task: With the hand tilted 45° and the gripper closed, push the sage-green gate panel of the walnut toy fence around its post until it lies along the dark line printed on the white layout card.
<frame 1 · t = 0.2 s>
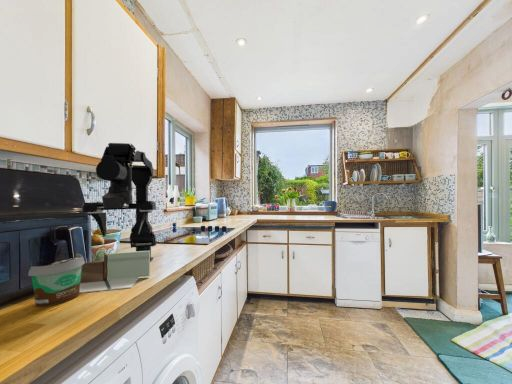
hand: (121, 235, 70), 15 cm above the countertop, tool pointing down, fingers open, 9 cm apart
fixed fence: (105, 281, 73), resting on layout card
layout card: (106, 282, 72), on the countertop
gate panel: (129, 264, 74), point 5 cm above the countertop, hinge at 0.0°
food container: (65, 299, 60), on the countertop, touching layout card
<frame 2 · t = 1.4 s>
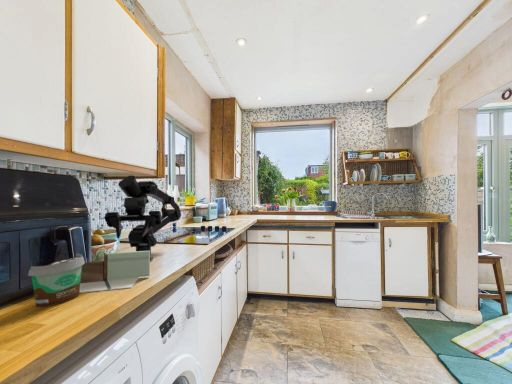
hand: (130, 236, 82), 12 cm above the countertop, tool tilted 45°, fingers open, 8 cm apart
nothing on the countertop moved.
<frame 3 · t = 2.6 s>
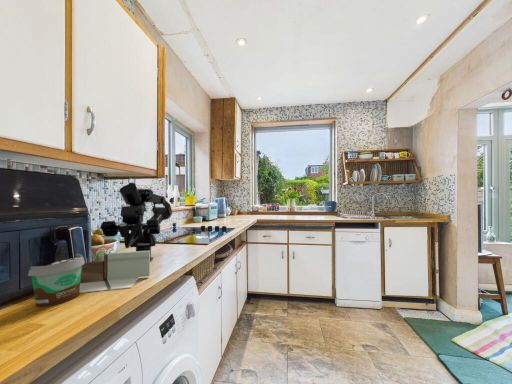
hand: (126, 247, 78), 9 cm above the countertop, tool tilted 45°, fingers closed
nothing on the countertop moved.
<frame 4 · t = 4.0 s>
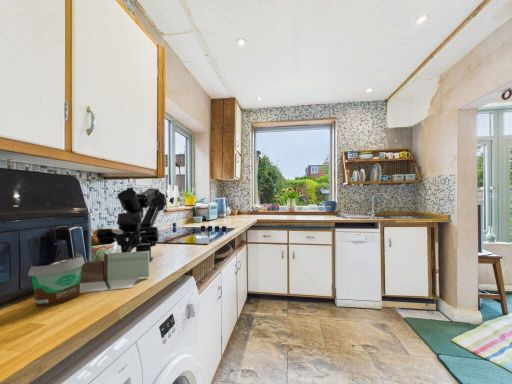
hand: (123, 256, 75), 7 cm above the countertop, tool tilted 45°, fingers closed, pressing on gate panel
gate panel: (129, 265, 74), point 5 cm above the countertop, hinge at -3.4°, touching gripper
everything else where it was.
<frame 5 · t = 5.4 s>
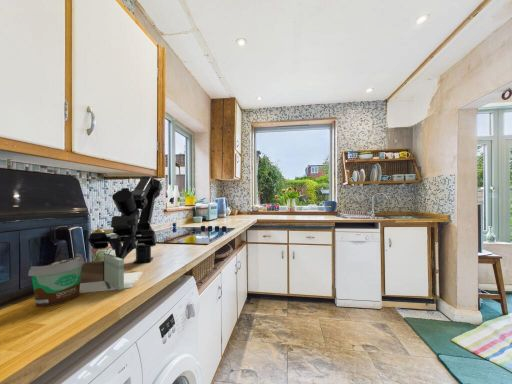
hand: (118, 262, 69), 7 cm above the countertop, tool tilted 45°, fingers closed
gate panel: (113, 270, 68), point 5 cm above the countertop, hinge at -54.0°, touching gripper
everything else where it was.
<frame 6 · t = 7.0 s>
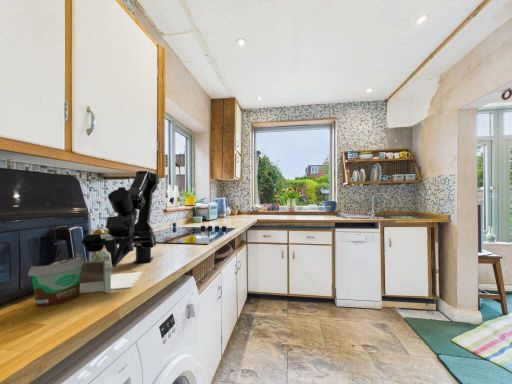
hand: (113, 266, 65), 7 cm above the countertop, tool tilted 45°, fingers closed
gate panel: (106, 271, 67), point 5 cm above the countertop, hinge at -68.3°, touching gripper
everything else where it was.
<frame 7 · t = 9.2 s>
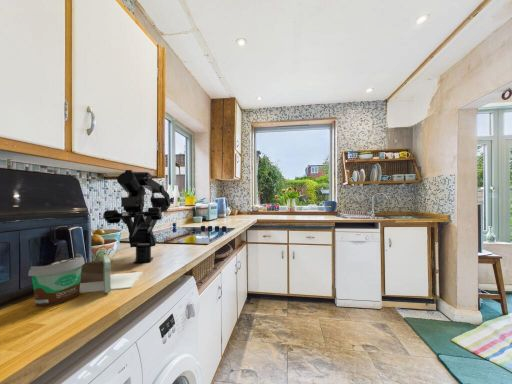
hand: (131, 236, 82), 13 cm above the countertop, tool tilted 30°, fingers closed
gate panel: (106, 271, 67), point 5 cm above the countertop, hinge at -68.6°
everything else where it was.
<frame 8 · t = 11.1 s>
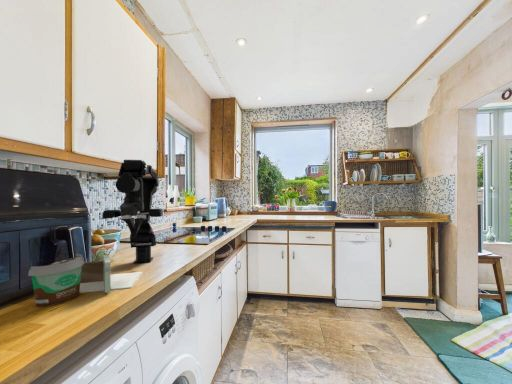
hand: (134, 237, 83), 12 cm above the countertop, tool pointing down, fingers closed
nothing on the countertop moved.
at the end: gate panel at -69° (first picture: +0°); food container moved 0.1 cm from its start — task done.
